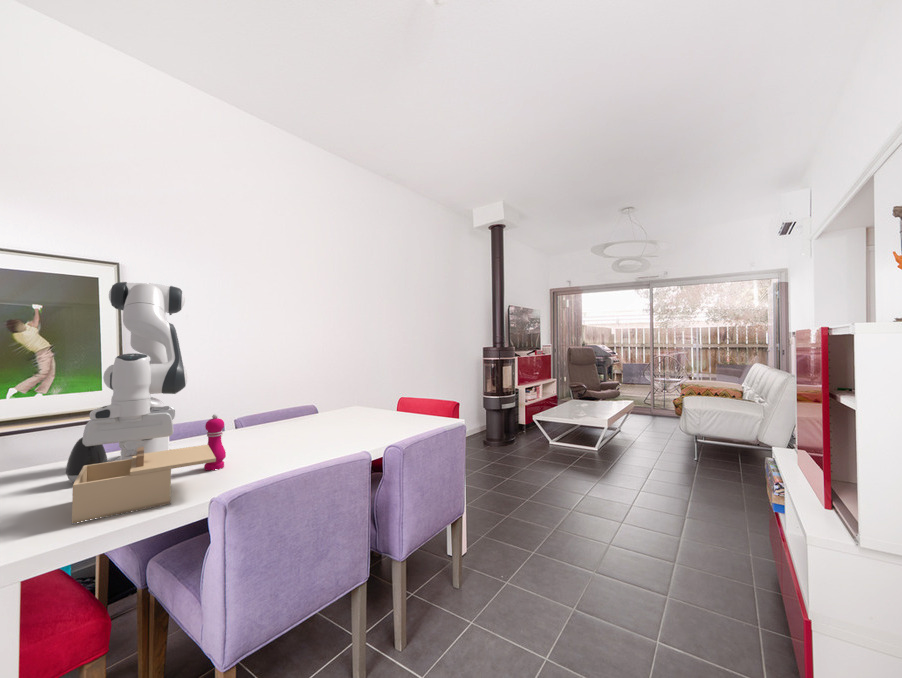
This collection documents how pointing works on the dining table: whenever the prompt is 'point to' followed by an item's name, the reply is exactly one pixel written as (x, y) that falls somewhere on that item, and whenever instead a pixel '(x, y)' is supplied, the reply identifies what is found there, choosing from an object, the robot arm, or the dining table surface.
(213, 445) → the pepper mill
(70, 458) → the black egg shape
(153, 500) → the box
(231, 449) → the dining table surface
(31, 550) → the dining table surface
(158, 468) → the lid
